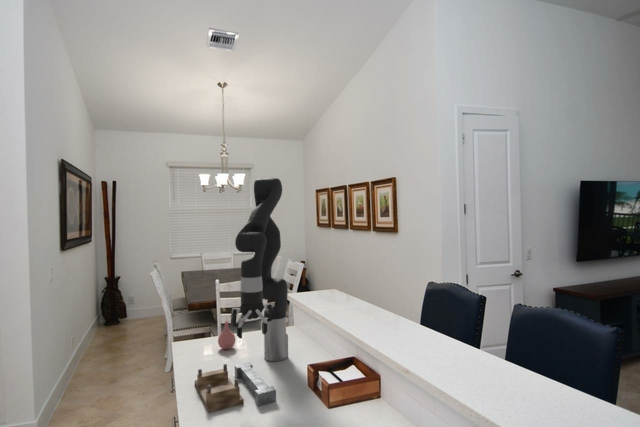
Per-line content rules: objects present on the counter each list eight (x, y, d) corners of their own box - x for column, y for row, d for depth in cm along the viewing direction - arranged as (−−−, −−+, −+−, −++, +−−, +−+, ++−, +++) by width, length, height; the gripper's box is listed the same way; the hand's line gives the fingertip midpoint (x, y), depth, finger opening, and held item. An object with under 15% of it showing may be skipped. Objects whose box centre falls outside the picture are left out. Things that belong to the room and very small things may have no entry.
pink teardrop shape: (229, 352, 165) (229, 325, 165) (214, 350, 168) (214, 323, 168) (238, 346, 173) (238, 320, 173) (224, 344, 175) (223, 319, 175)
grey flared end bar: (250, 372, 144) (250, 362, 144) (276, 402, 122) (275, 389, 122) (234, 376, 141) (234, 365, 141) (258, 406, 119) (258, 394, 119)
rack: (225, 377, 140) (225, 360, 140) (243, 403, 121) (243, 383, 121) (194, 384, 134) (194, 366, 134) (208, 412, 115) (208, 391, 115)
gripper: (267, 285, 138) (267, 329, 138) (228, 289, 132) (229, 336, 132) (274, 289, 131) (275, 335, 131) (234, 293, 125) (234, 342, 125)
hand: (252, 335), depth 131 cm, fingers open, 8 cm apart
